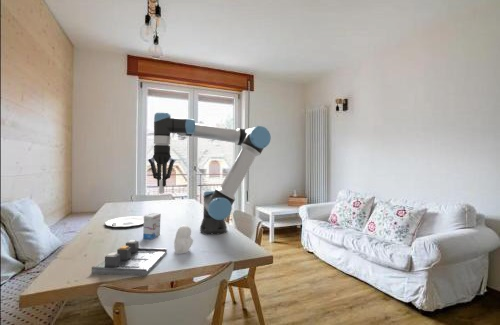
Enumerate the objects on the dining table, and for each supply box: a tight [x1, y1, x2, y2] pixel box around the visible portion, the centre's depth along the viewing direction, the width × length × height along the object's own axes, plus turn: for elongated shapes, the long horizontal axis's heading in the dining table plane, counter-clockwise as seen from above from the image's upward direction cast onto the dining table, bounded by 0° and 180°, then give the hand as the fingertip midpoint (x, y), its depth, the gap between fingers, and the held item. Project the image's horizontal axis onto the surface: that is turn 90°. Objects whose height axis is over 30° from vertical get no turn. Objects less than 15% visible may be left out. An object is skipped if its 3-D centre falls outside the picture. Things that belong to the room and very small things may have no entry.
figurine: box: [173, 224, 194, 255], centre depth 119 cm, size 7×8×12 cm
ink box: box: [142, 212, 162, 240], centre depth 139 cm, size 9×5×12 cm, turn 168°
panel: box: [91, 247, 168, 277], centre depth 106 cm, size 20×21×2 cm
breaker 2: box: [116, 245, 131, 260], centre depth 106 cm, size 4×3×5 cm
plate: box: [104, 215, 144, 229], centre depth 164 cm, size 25×25×2 cm
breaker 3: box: [125, 239, 139, 253], centre depth 113 cm, size 4×3×5 cm
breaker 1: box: [104, 251, 120, 267], centre depth 98 cm, size 4×3×5 cm
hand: (161, 193), depth 130 cm, fingers closed
